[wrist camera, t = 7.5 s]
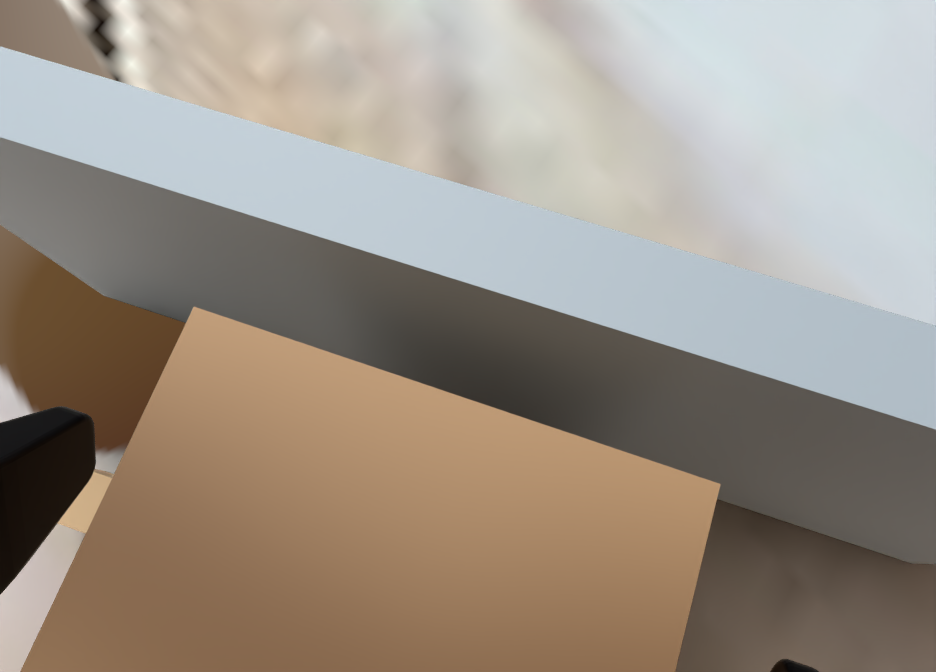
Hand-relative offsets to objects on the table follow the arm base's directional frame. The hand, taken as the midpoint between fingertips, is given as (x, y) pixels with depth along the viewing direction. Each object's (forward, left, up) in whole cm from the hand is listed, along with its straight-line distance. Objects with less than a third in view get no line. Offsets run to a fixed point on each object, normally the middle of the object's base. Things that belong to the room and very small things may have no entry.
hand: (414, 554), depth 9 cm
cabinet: (-1, 0, -8) cm, 8 cm away
